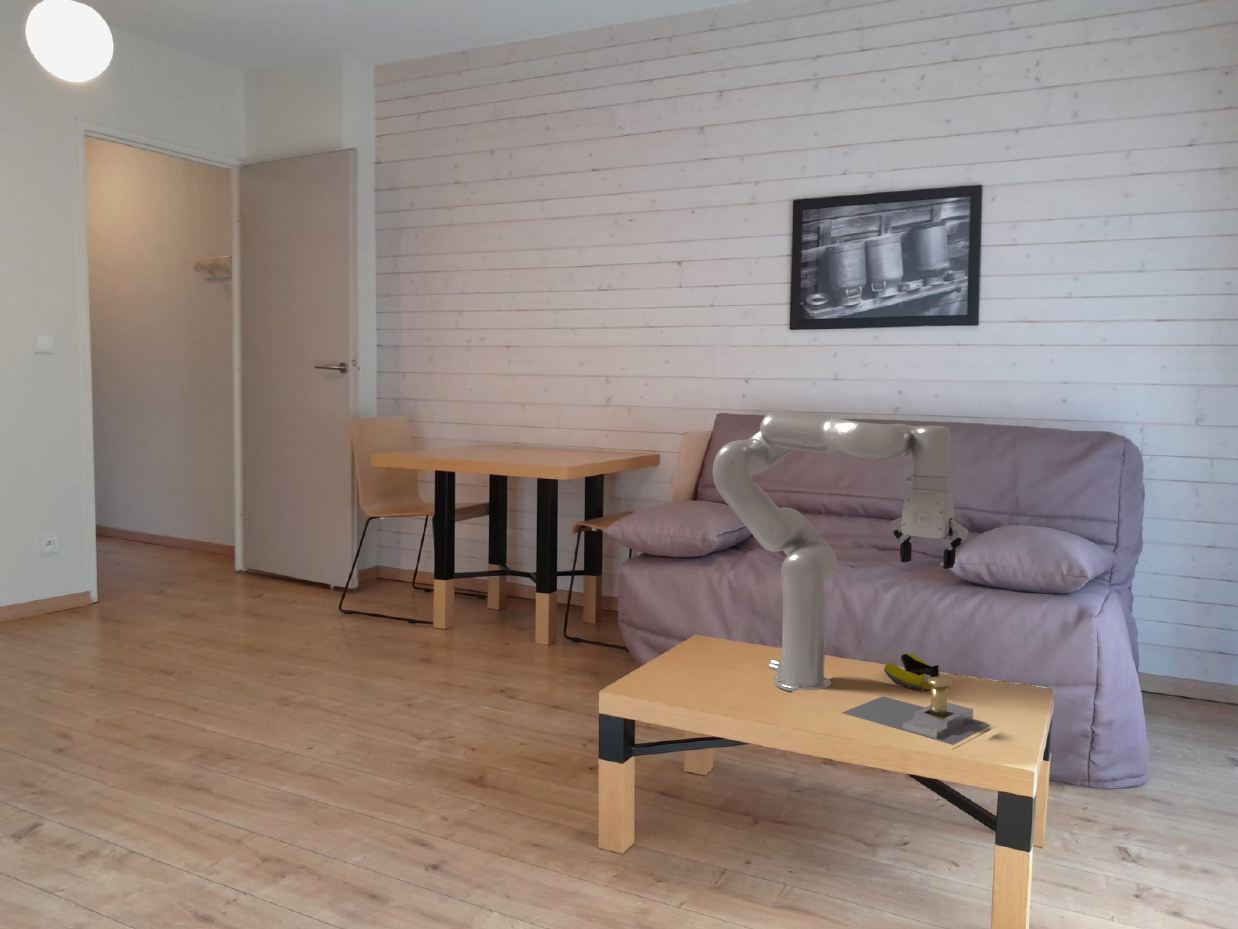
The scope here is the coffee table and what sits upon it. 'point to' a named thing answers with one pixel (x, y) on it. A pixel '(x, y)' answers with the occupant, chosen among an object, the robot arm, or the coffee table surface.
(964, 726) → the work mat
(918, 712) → the grey slotted housing block
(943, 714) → the pin
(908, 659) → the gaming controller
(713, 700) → the coffee table surface
